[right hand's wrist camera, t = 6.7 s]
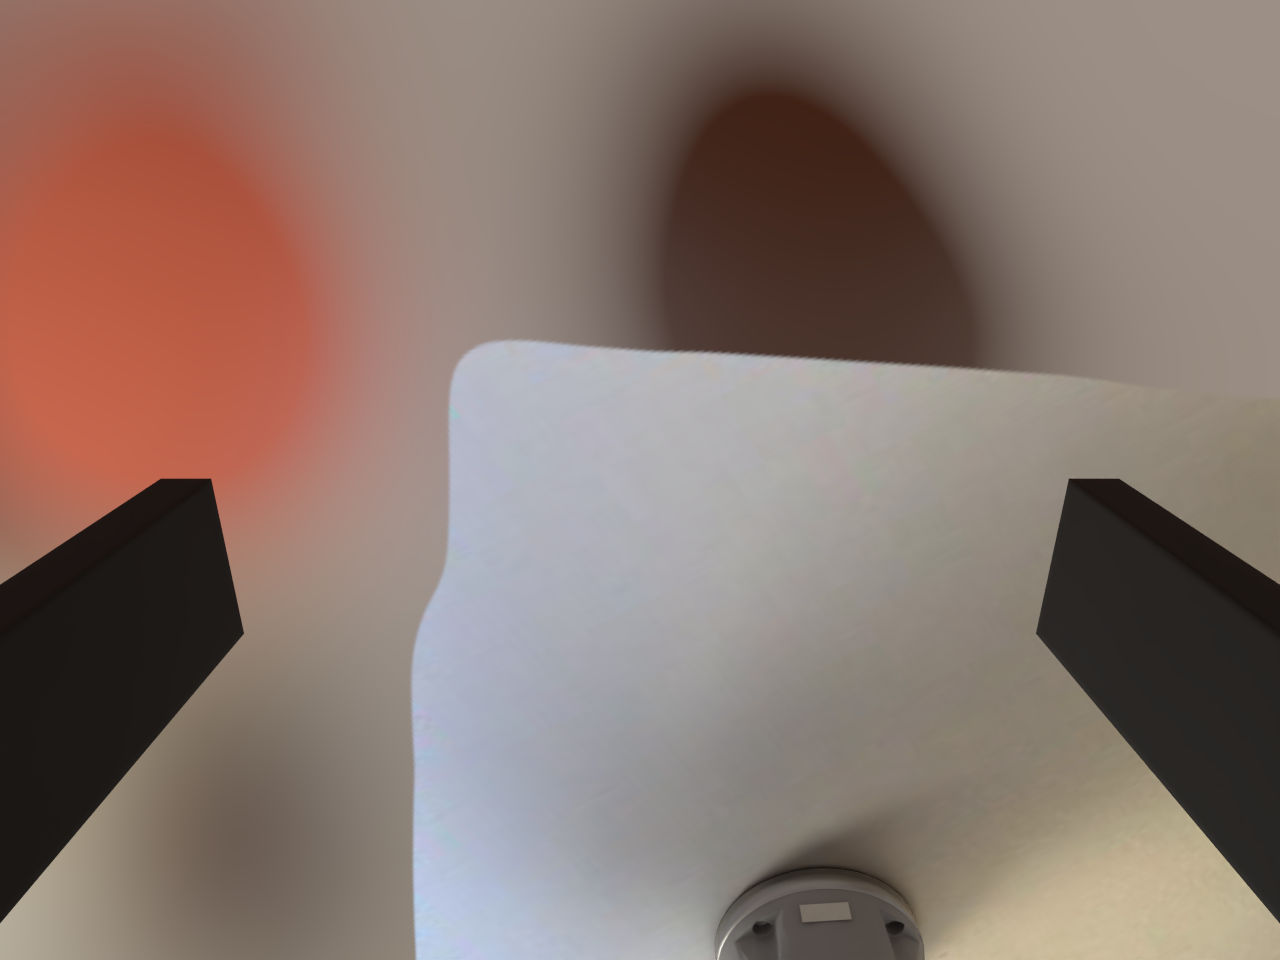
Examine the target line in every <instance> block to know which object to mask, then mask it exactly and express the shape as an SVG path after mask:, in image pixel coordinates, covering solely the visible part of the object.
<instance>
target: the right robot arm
mask: <svg viewBox="0 0 1280 960" xmlns="http://www.w3.org/2000/svg"><path fill="white" fill-rule="evenodd" d="M243 634H244V632H243V627H242V622H241V617H240V613H239V608H238V603H237V599H236V594H235V589H234V585H233V580H232V575H231V570H230V566H229V561H228V556H227V552H226V547H225V542H224V537H223V533H222V528H221V523H220V519H219V514H218V509H217V504H216V500H215V495H214V490H213V486H212V481H211V479H160V480H158V481H157V482H155V483H154V484H152V485H151V486H149V487H148V488H146V489H145V490H143V491H142V492H140V493H139V494H137V495H136V496H134V497H133V498H131V499H130V500H128V501H127V502H125V503H124V504H122V505H120V506H119V507H117V508H116V509H114V510H113V511H111V512H110V513H108V514H107V515H105V516H104V517H102V518H101V519H99V520H98V521H96V522H95V523H93V524H92V525H90V526H89V527H87V528H86V529H84V530H83V531H81V532H79V533H78V534H76V535H75V536H74V537H72V538H70V539H69V540H67V541H66V542H64V543H63V544H61V545H60V546H58V547H57V548H55V549H54V550H52V551H51V552H49V553H48V554H46V555H45V556H43V557H42V558H40V559H39V560H37V561H36V562H34V563H32V564H31V565H29V566H28V567H26V568H25V569H23V570H22V571H20V572H19V573H17V574H16V575H14V576H13V577H11V578H10V579H8V580H7V581H5V582H4V583H2V584H1V585H0V923H1V922H2V920H3V919H4V918H5V917H6V916H7V915H8V913H9V912H10V911H11V910H12V909H13V907H14V906H15V905H16V904H17V903H18V901H19V900H20V899H21V898H22V897H23V895H24V894H25V893H26V892H27V891H28V889H29V888H30V887H31V886H32V885H33V884H34V882H35V881H36V880H37V879H38V878H39V876H40V875H41V874H42V873H43V872H44V871H45V869H46V868H47V867H48V866H49V865H50V863H51V862H52V861H53V860H54V859H55V857H56V856H57V855H58V854H59V853H60V851H61V850H62V849H63V848H64V847H65V846H66V844H67V843H68V842H69V841H70V840H71V838H72V837H73V836H74V835H75V834H76V832H77V831H78V830H79V829H80V828H81V827H82V825H83V824H84V823H85V822H86V821H87V819H88V818H89V817H90V816H91V815H92V813H93V812H94V811H95V810H96V809H97V807H98V806H99V805H100V804H101V803H102V802H103V800H104V799H105V798H106V797H107V796H108V794H109V793H110V792H111V791H112V790H113V788H114V787H115V786H116V785H117V784H118V783H119V781H120V780H121V779H122V778H123V777H124V775H125V774H126V773H127V772H128V771H129V770H130V768H131V767H132V766H133V765H134V764H135V762H136V761H137V760H138V759H139V758H140V756H141V755H142V754H143V753H144V752H145V750H146V749H147V748H148V747H149V746H150V745H151V743H152V742H153V741H154V740H155V739H156V737H157V736H158V735H159V734H160V733H161V731H162V730H163V729H164V728H165V727H166V726H167V724H168V723H169V722H170V721H171V720H172V718H173V717H174V716H175V715H176V714H177V712H178V711H179V710H180V709H181V708H182V707H183V705H184V704H185V703H186V702H187V701H188V699H189V698H190V697H191V696H192V695H193V693H194V692H195V691H196V690H197V689H198V688H199V686H200V685H201V684H202V683H203V682H204V680H205V679H206V678H207V677H208V676H209V674H210V673H211V672H212V671H213V670H214V668H215V667H216V666H217V665H218V664H219V662H220V661H221V660H222V659H223V658H224V657H225V655H226V654H227V653H228V652H229V651H230V649H231V648H232V647H233V646H234V645H235V644H236V642H237V641H238V640H239V639H240V638H241V636H242V635H243ZM1036 634H1037V635H1038V636H1039V638H1040V639H1041V640H1042V641H1043V642H1044V644H1045V645H1046V646H1047V647H1048V648H1049V649H1050V651H1051V652H1052V653H1053V654H1054V655H1055V657H1056V658H1057V659H1058V660H1059V661H1060V663H1061V664H1062V665H1063V666H1064V667H1065V669H1066V670H1067V671H1068V672H1069V673H1070V674H1071V676H1072V677H1073V678H1074V679H1075V680H1076V682H1077V683H1078V684H1079V685H1080V686H1081V688H1082V689H1083V690H1084V691H1085V692H1086V693H1087V695H1088V696H1089V697H1090V698H1091V699H1092V701H1093V702H1094V703H1095V704H1096V705H1097V707H1098V708H1099V709H1100V710H1101V711H1102V712H1103V714H1104V715H1105V716H1106V717H1107V718H1108V720H1109V721H1110V722H1111V723H1112V724H1113V726H1114V727H1115V728H1116V729H1117V730H1118V731H1119V733H1120V734H1121V735H1122V736H1123V737H1124V739H1125V740H1126V741H1127V742H1128V743H1129V745H1130V746H1131V747H1132V748H1133V749H1134V751H1135V752H1136V753H1137V754H1138V755H1139V756H1140V758H1141V759H1142V760H1143V761H1144V762H1145V764H1146V765H1147V766H1148V767H1149V768H1150V770H1151V771H1152V772H1153V773H1154V774H1155V775H1156V777H1157V778H1158V779H1159V780H1160V781H1161V783H1162V784H1163V785H1164V786H1165V787H1166V789H1167V790H1168V791H1169V792H1170V793H1171V794H1172V796H1173V797H1174V798H1175V799H1176V800H1177V802H1178V803H1179V804H1180V805H1181V806H1182V808H1183V809H1184V810H1185V811H1186V812H1187V813H1188V815H1189V816H1190V817H1191V818H1192V819H1193V821H1194V822H1195V823H1196V824H1197V825H1198V827H1199V828H1200V829H1201V830H1202V831H1203V833H1204V834H1205V835H1206V836H1207V837H1208V838H1209V840H1210V841H1211V842H1212V843H1213V844H1214V846H1215V847H1216V848H1217V849H1218V850H1219V852H1220V853H1221V854H1222V855H1223V856H1224V857H1225V859H1226V860H1227V861H1228V862H1229V863H1230V865H1231V866H1232V867H1233V868H1234V869H1235V871H1236V872H1237V873H1238V874H1239V875H1240V876H1241V878H1242V879H1243V880H1244V881H1245V882H1246V884H1247V885H1248V886H1249V887H1250V888H1251V890H1252V891H1253V892H1254V893H1255V894H1256V896H1257V897H1258V898H1259V899H1260V900H1261V901H1262V903H1263V904H1264V905H1265V906H1266V907H1267V909H1268V910H1269V911H1270V912H1271V913H1272V915H1273V916H1274V917H1275V918H1276V919H1277V920H1278V922H1279V923H1280V585H1279V584H1278V583H1276V582H1275V581H1273V580H1272V579H1270V578H1269V577H1267V576H1266V575H1264V574H1263V573H1261V572H1260V571H1258V570H1257V569H1255V568H1254V567H1252V566H1251V565H1249V564H1248V563H1246V562H1244V561H1243V560H1241V559H1240V558H1238V557H1237V556H1235V555H1234V554H1232V553H1231V552H1229V551H1228V550H1226V549H1225V548H1223V547H1222V546H1220V545H1219V544H1217V543H1216V542H1214V541H1213V540H1211V539H1210V538H1208V537H1207V536H1205V535H1204V534H1202V533H1201V532H1199V531H1197V530H1196V529H1194V528H1193V527H1191V526H1190V525H1188V524H1187V523H1185V522H1184V521H1182V520H1181V519H1179V518H1178V517H1176V516H1175V515H1173V514H1172V513H1170V512H1169V511H1167V510H1166V509H1164V508H1163V507H1161V506H1160V505H1158V504H1157V503H1155V502H1154V501H1152V500H1150V499H1149V498H1147V497H1146V496H1144V495H1143V494H1141V493H1140V492H1138V491H1137V490H1135V489H1134V488H1132V487H1131V486H1129V485H1128V484H1126V483H1125V482H1123V481H1122V480H1120V479H1069V481H1068V486H1067V490H1066V495H1065V500H1064V504H1063V509H1062V514H1061V519H1060V523H1059V528H1058V533H1057V537H1056V542H1055V547H1054V552H1053V556H1052V561H1051V566H1050V570H1049V575H1048V580H1047V584H1046V589H1045V594H1044V599H1043V603H1042V608H1041V613H1040V617H1039V622H1038V627H1037V631H1036ZM715 954H716V960H925V954H924V945H923V941H922V938H921V935H920V932H919V929H918V926H917V924H916V921H915V918H914V915H913V913H912V911H911V909H910V908H909V906H908V904H907V903H906V902H905V900H904V899H903V898H902V897H901V896H900V895H899V894H898V893H897V892H896V891H895V890H893V889H892V888H891V887H889V886H888V885H886V884H885V883H883V882H881V881H879V880H877V879H875V878H873V877H870V876H868V875H865V874H862V873H858V872H854V871H849V870H844V869H835V868H814V869H804V870H799V871H793V872H789V873H786V874H782V875H779V876H776V877H773V878H771V879H769V880H766V881H764V882H762V883H760V884H759V885H757V886H755V887H753V888H752V889H750V890H749V891H747V892H746V893H745V894H743V895H742V896H741V897H740V898H739V899H738V900H737V901H736V902H734V904H733V905H732V906H731V907H730V908H729V909H728V911H727V912H726V914H725V915H724V917H723V919H722V920H721V922H720V925H719V927H718V930H717V934H716V939H715Z"/></svg>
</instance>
